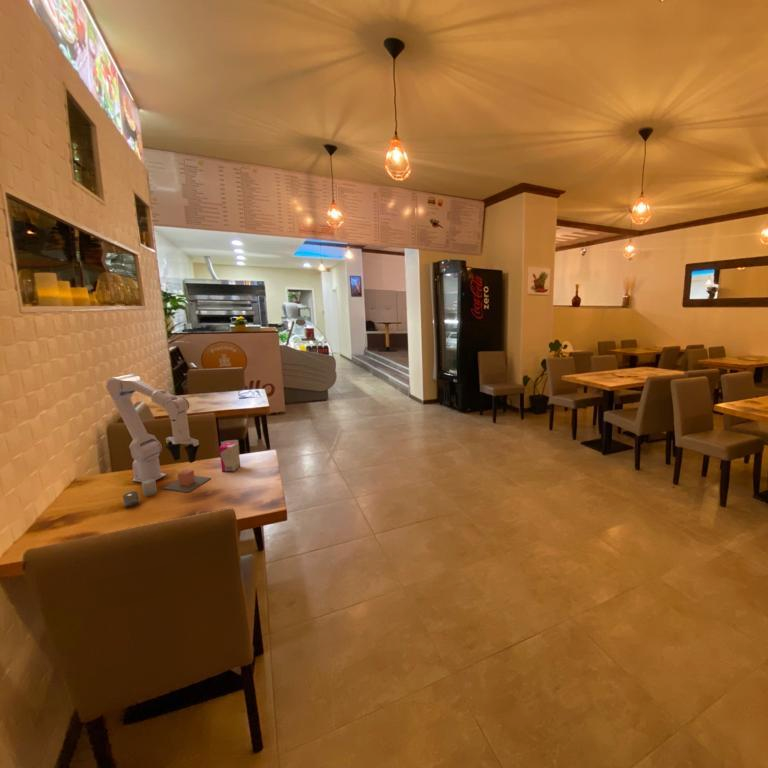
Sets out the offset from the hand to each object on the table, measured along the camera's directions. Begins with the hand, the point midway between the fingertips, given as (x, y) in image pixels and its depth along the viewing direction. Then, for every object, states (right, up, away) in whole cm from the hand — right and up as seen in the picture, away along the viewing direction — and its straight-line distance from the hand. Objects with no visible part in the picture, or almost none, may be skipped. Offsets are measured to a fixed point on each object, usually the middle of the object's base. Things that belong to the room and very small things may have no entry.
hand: (184, 460), depth 146 cm
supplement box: (+13, -7, +13) cm, 20 cm away
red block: (+1, -9, 0) cm, 9 cm away
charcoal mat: (+1, -9, +1) cm, 9 cm away
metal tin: (-11, -13, -14) cm, 22 cm away
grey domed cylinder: (-10, -11, -7) cm, 16 cm away
